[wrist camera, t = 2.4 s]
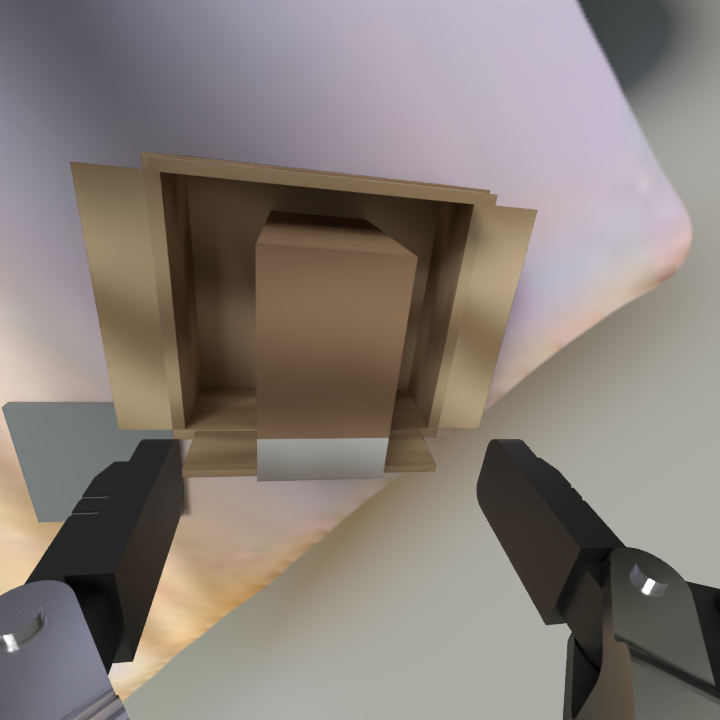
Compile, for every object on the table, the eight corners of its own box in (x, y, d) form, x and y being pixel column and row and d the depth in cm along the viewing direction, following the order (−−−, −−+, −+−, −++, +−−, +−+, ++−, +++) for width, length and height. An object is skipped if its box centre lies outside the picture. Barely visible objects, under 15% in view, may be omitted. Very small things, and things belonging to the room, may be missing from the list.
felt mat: (8, 401, 24) (1, 407, 23) (171, 402, 25) (169, 408, 25) (43, 515, 27) (38, 522, 27) (183, 509, 29) (181, 516, 28)
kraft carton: (118, 148, 19) (16, 139, 12) (492, 190, 23) (584, 201, 15) (151, 390, 25) (94, 481, 18) (446, 393, 28) (499, 471, 21)
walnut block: (270, 210, 21) (255, 244, 12) (365, 219, 22) (418, 256, 13) (269, 366, 25) (257, 481, 16) (350, 368, 25) (382, 478, 17)
